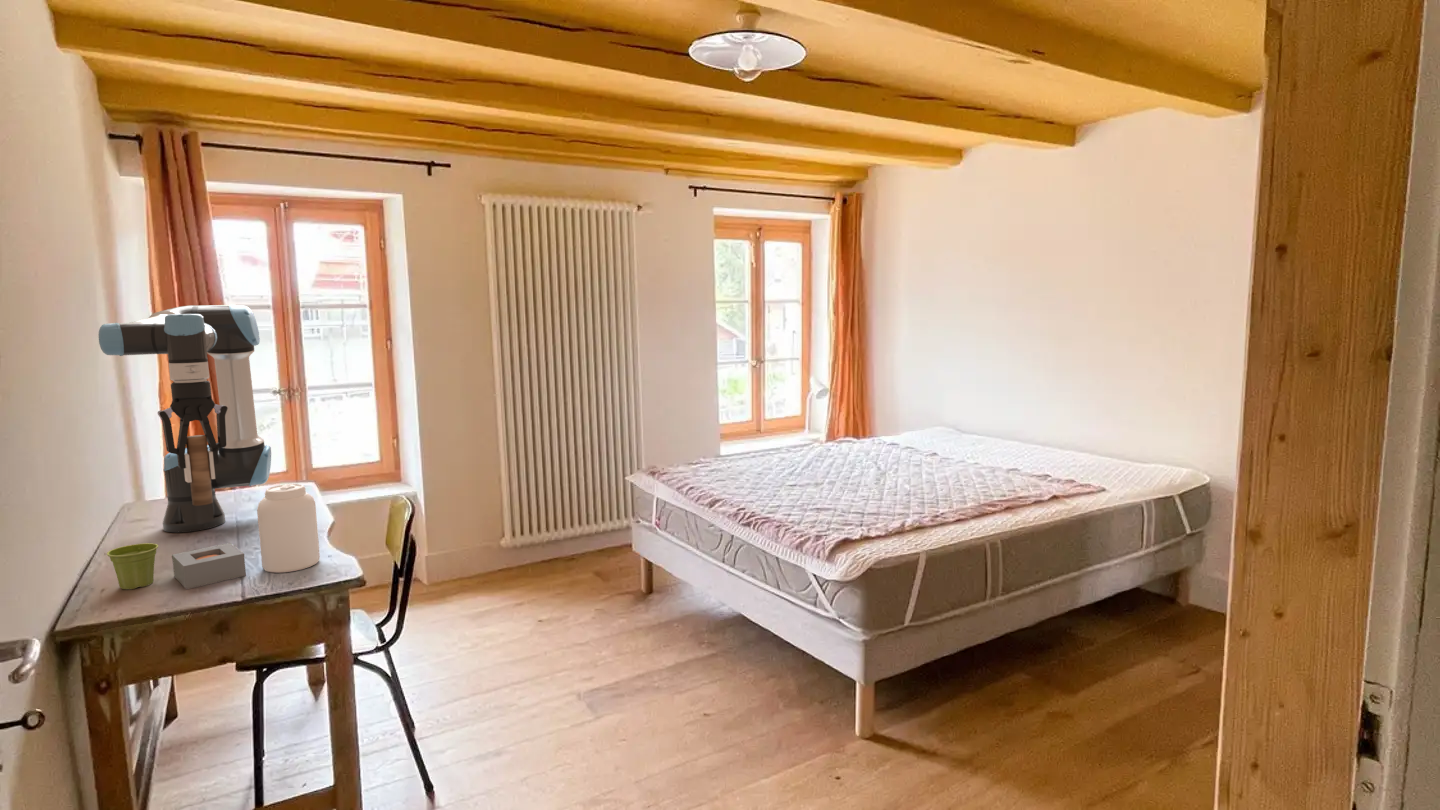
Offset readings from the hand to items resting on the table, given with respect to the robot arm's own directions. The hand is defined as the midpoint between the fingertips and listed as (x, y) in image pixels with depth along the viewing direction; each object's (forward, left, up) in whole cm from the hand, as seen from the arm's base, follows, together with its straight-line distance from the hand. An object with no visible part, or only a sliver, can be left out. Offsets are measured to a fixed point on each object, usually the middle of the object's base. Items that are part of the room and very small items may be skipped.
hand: (200, 479), depth 177 cm
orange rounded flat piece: (0, 0, -21) cm, 21 cm away
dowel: (0, 0, -6) cm, 6 cm away
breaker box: (0, 0, -24) cm, 24 cm away
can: (+6, +16, -24) cm, 29 cm away
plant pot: (-6, -13, -24) cm, 28 cm away
